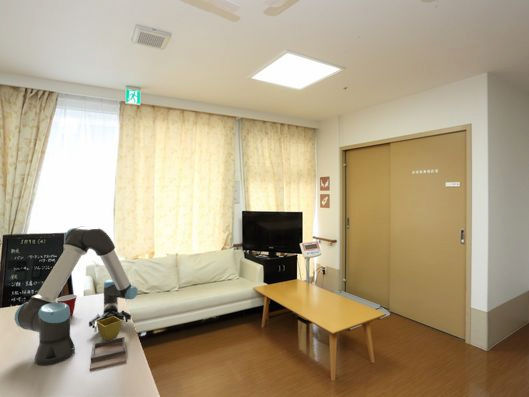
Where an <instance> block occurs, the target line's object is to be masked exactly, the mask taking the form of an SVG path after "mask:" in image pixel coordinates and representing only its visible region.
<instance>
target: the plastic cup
mask: <svg viewBox="0 0 529 397" xmlns="http://www.w3.org/2000/svg"><path fill="white" fill-rule="evenodd" d="M77 297H78V295H77V294H69V295H68V294H67V295H63V296H60V297H59V296H58V297H57V299H56V302H57V303H58V302H61V303H65V304H67V305H68V306H69V309H70V318H72V317H73V315H74V311H75V306H76V300H77Z"/></svg>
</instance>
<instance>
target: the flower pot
mask: <svg viewBox="0 0 529 397" xmlns="http://www.w3.org/2000/svg"><path fill="white" fill-rule="evenodd" d="M121 326H122V320H120V319H118V318H116V317H114V316H112V317H109V318H107V319H104V320H101V321H98V322H97V330H98V333H99V336H100V337H101V338H102V339H103V340H104V341H107V340H112V339H116V338H117V337H118V336H119V334H120V331H121Z"/></svg>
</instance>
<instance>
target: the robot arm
mask: <svg viewBox="0 0 529 397" xmlns="http://www.w3.org/2000/svg"><path fill="white" fill-rule="evenodd" d="M63 239H64V240H63V241H64V244H63V249H64V250H63V252H62V253H61V255H60V257H59V258H58V260H57V261H56V263H55V265H54V266H53V268H52V269H51V270H50V273H49V274H48V276H47V277H46V279H45V280H44V282H43V284H42V286H41V287H40V289H39V290H38V292H37V293H36V294H35V295H32V296H30V298H29V300H28V301H26V302H24V303H23V304H21V305H19V307H18V308H17V309H16V311H15V314H14V321H15V324H16V326H18V327H19V328H21V329H23V330H25V331H26V330H28V331H31V332H32V331H33V332H37V333H39V334H38V336H39V337H38V338H39V342H38V343H39V344H38V346H37V349H36V352H35V355H34V363H35V364H36V365H38V366H51V365H55V364H59V363H62V362H64V361H66V360H68V359H70V358H71V357H72V356H74V354H75V352H76V346H75V344H74V341H73V340H72V337H71V317H70V309H69V306H68V305H67V304H65V303H61V302H57V301H56V299H57V298H59V295H60V293H61V291H62V290H63V288H64V286H65V285H66V283H67V281H68V279H69V278H70V276H71V275H72V273H73V271H74V269H75V267H76V266H77V264H78V262H79V261H80V259H81V257H82V256H85V255H87V253H88V251H89V250H92V251H94V252H95V254H96V256H98V257H100V259H101V261H102V263H103V265H104V266H105V268H106V270H107V273H108V274H109V277H110V279H107V280H105V281H104V282H103V314H102V315H100V314H96V316H95V317H93V318H92V319H90V320H89V322H88V327H92V329H94V332H95V333H96V332H97V330H98V326H97V322H98V321H101V320H104V319H107V318H109V317H112V316H114V317H116V318H118V319H120V320H121V321H123V327H126V324H127V323H128V322H129V321H130V320H131V319H132V315H131V314H130V313H128V312H126V311H125V310H121V311H120V312H119V303H118V302H119V299H125V300H134V299H135V298H136V297H137V295H138V291H139V290H138V288H137V287H136V286H134V285H132V284H131V281H130V280H129V278H128V276H127V273H126V271H125V269H124V267H123V264H122V263H121V261H120V259H119V257H118V255H117V252H116V251H115V249H116V246H115V244H114V242H113V240H112V239H111V237H110V235H109V234H108V233H107V232H106V231H105V230H103V229H101V228H99V227H96V226H95V227H90V226H73V227H71V228H70V229H68V230H67V231H66V233H64V237H63ZM118 298H119V299H118ZM128 320H129V321H128Z"/></svg>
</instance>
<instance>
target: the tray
mask: <svg viewBox="0 0 529 397" xmlns="http://www.w3.org/2000/svg"><path fill="white" fill-rule="evenodd" d="M126 356H127V355H126V339H125V336H123V337H118V338H117V337H116V338H113V339H110V340H107V341H106V340H103V341H99V342H98V341H97V342H93V343H92V346H91V352H90V362H89V372H90V371H91V372H92V371H96V370H100V369H104V368H108V367H114V366H117V365H121V364H126V363H127V360H126Z"/></svg>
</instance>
